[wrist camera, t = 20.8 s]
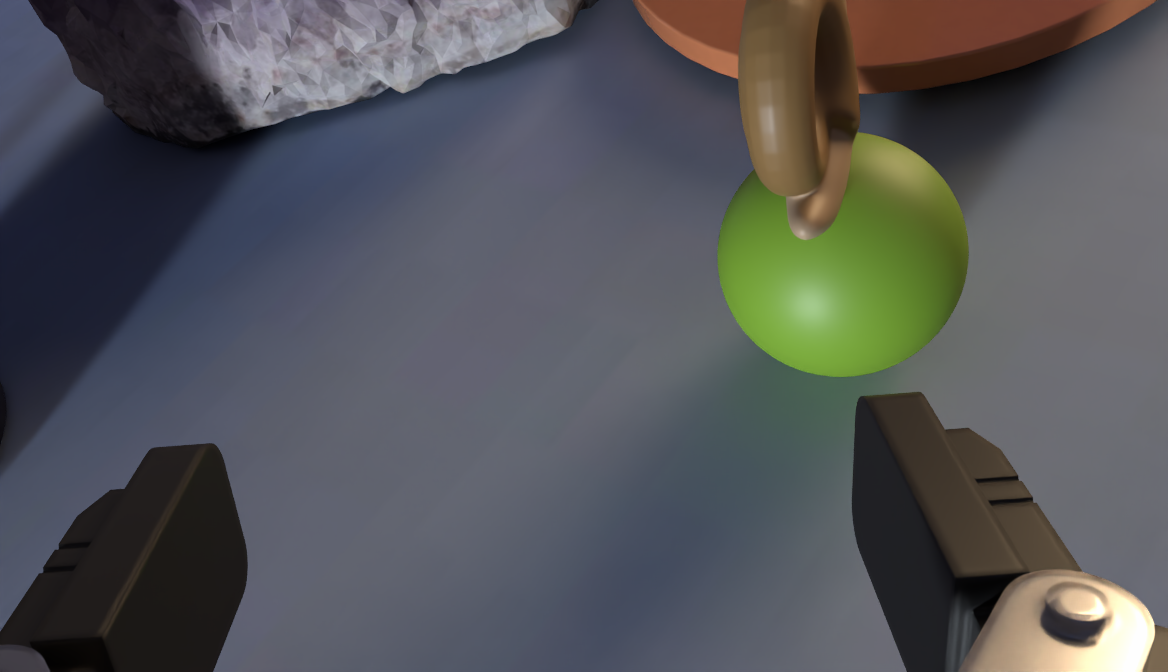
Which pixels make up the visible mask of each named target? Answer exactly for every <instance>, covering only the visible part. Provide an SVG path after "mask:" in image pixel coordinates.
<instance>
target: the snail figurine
mask: <svg viewBox="0 0 1168 672" xmlns="http://www.w3.org/2000/svg"><path fill="white" fill-rule="evenodd" d="M738 86H739V99H740V109H741V116H742V122H743V127H744V132H745V135H746V139H747V144H748V148H749V153H750V157H751V160H752V163H753V166H754V170H753V171H752V172H751V173H750V174H749V175H748V177H747V178H746V179H745V180H744V181H743V183H742V184H741V185H740V187H739V188H738V190H737V191H736V193H735V195H734V196H733V198H732V200H731V202H730V204H729V206H728V208H727V211H726V213H725V216H724V219H723V222H722V226H721V230H720V235H719V242H718V271H719V278H720V283H721V287H722V290H723V293H724V296H725V299H726V302H727V304H728V306H729V308H730V310H731V312H732V314H733V316H734V318H735V319H736V321H737V322H738V324H739V325H740V327H741V328H742V329H743V330H744V332H745V333H746V334H747V335H748V336H749V337H750V339H751V340H752V341H753V342H754V343H755V344H757V345H758V346H759V347H760V348H761V349H762V350H764V351H765V352H766V353H768V354H769V355H771V356H772V357H774V358H775V359H777V360H779V361H781V362H782V363H784V364H786V365H788V366H791V367H793V368H796V369H798V370H801V371H804V372H808V373H812V374H817V375H823V376H832V377H850V376H859V375H865V374H870V373H874V372H878V371H881V370H884V369H887V368H889V367H892V366H894V365H896V364H898V363H900V362H902V361H904V360H906V359H907V358H909V357H911V356H912V355H914V354H915V353H916V352H918V351H919V350H920V349H922V348H923V347H924V346H925V345H926V344H928V343H929V342H930V341H931V340H932V339H933V338H934V337H935V336H936V335H937V333H938V332H939V331H940V330H941V329H942V327H943V326H944V325H945V323H946V322H947V320H948V319H949V317H950V316H951V314H952V313H953V311H954V309H955V307H956V305H957V303H958V300H959V298H960V296H961V293H962V290H963V287H964V283H965V279H966V274H967V268H968V256H969V249H968V236H967V230H966V225H965V221H964V218H963V215H962V212H961V209H960V207H959V204H958V202H957V200H956V198H955V196H954V194H953V193H952V191H951V189H950V188H949V186H948V185H947V183H946V182H945V180H944V179H943V178H942V177H941V176H940V174H939V173H938V172H937V171H936V170H935V169H934V168H933V167H932V166H931V165H930V164H929V163H928V162H927V161H925V160H924V159H923V158H922V157H920V156H919V155H918V154H916V153H915V152H913V151H911V150H910V149H908V148H906V147H904V146H903V145H900V144H898V143H896V142H894V141H891V140H889V139H886V138H883V137H879V136H876V135H871V134H866V133H858V129H859V124H860V105H859V90H858V78H857V69H856V61H855V54H854V47H853V41H852V35H851V30H850V25H849V20H848V16H847V6H846V0H746V4H745V9H744V16H743V22H742V31H741V37H740V44H739V54H738Z"/></svg>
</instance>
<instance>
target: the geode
mask: <svg viewBox="0 0 1168 672" xmlns="http://www.w3.org/2000/svg"><path fill="white" fill-rule="evenodd" d="M28 1H29V2H30V4H31V5H32V7H33V9H34V10H35V12H36V13H37V15H38V17H39V18H40V20H41V21H42V23H43V25H44V26H45V27H47V28H48V29H49V30H51V31H52V32H53V33H55V34H56V35H57V36H58V38H59V39H60V41H61V43H62V44H63V46H64V48H65V50H66V52H67V54H68V56H69V59H70V61H71V64H72V68H73V72H74V75H75V76H76V77H77V78H78V80H79V81H80V82H81V83H82V84H84V85H86V86H88V87H90V88H91V89H93V90H95V91H98V92H99V93H101V94H102V95H103V96H104V105H105V106H106V107H108V108H110V109H111V110H112V111H113V113H114V114H115V115H116V116H117V117H118V118H120V119H121V120H122V121H123V122H124V123H125V124H126V125H127V126H129V127H130V128H131V129H132V130H133V131H135V132H136V133H140V134H143V135H147V136H150V137H152V138H155V139H157V140H160V141H162V142H174V143H176V144H179V145H181V146H184V147H195V148H201V147H203V146H205V145H208V144H210V143H213V142H216V141H219V140H222V139H225V138H228V137H231V136H234V135H237V134H240V133H243V132H246V131H248V130H251V129H255V128H260V127H264V126H269V125H273V124H276V123H279V122H282V121H284V120H287V119H289V118H292V117H296V116H301V115H306V114H310V113H313V112H316V111H320V110H323V109H332V108H336V107H339V106H343V105H346V104H350V103H354V102H359V101H363V100H367V99H371V98H373V97H374V96H376V95H378V94H379V93H381V92H383V91H384V90H386V89H388V88H389V87H392V88H393V89H395V90H396V91H399V92H401V93H405V92H408V91H410V90H413V89H415V88H418V87H420V86H421V85H422V84H423V83H424V82H425V81H426V80H428V79H430V78H432V77H434V76H436V75H438V74H443V73H446V74H456V73H458V72H459V71H460V70H461V69H463V68H465V67H469V66H473V65H477V64H481V63H485V62H488V61H490V60H493V59H496V58H499V57H501V56H504V55H507V54H510V53H512V52H515V51H517V50H518V49H519V48H521V47H522V46H523V45H525V44H528V43H530V42H533V41H535V40H538V39H541V38H545V37H549V36H553V35H556V34H558V33H560V32H562V31H563V30H565V29H567V28H569V27H570V26H572V24H573V22H574V19H575V17H576V15H577V13H578V11H579V10H582V9H588V8H591V7H592V6H593V5H594V4H595V3H596V2H597V1H599V0H28Z"/></svg>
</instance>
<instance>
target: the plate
mask: <svg viewBox="0 0 1168 672" xmlns="http://www.w3.org/2000/svg"><path fill="white" fill-rule="evenodd" d="M1156 1H1157V0H846V6H847V16H848V20H849V25H850V30H851V35H852V41H853V47H854V54H855V61H856V69H857V78H858V90H859V94H879V93H890V92H900V91H910V90H920V89H927V88H932V87H938V86H943V85H949V84H954V83H960V82H965V81H971V80H974V79H978V78H982V77H985V76H989V75H993V74H996V73H1000V72H1004V71H1008V70H1011V69H1015V68H1019V67H1022V66H1024V65H1027V64H1030V63H1032V62H1035V61H1038V60H1041V59H1043V58H1046V57H1049V56H1052V55H1054V54H1057V53H1060V52H1063V51H1065V50H1068V49H1070V48H1072V47H1074V46H1076V45H1078V44H1080V43H1082V42H1085V41H1087V40H1089V39H1091V38H1093V37H1095V36H1097V35H1099V34H1102V33H1104V32H1106V31H1108V30H1110V29H1112V28H1113V27H1115V26H1117V25H1118V24H1120V23H1122V22H1124V21H1125V20H1127V19H1129V18H1130V17H1132V16H1134V15H1135V14H1137V13H1139V12H1140V11H1142V10H1144V9H1145V8H1147V7H1149V6H1150V5H1152V4H1153V3H1154V2H1156ZM633 3H634V5H635V7H636V8H637V10H638V11H639V13H640V14H641V16H642V17H643V19H644V20H645V22H646V24H647V25H648V26H649V27H650V28H651V29H652V30H653V31H654V32H655V33H656V34H657V35H658V36H659V37H660V38H661V39H662V40H663V41H664V42H665V43H667V44H668V45H670V46H671V47H672V48H674V49H675V50H677V51H678V52H680V53H681V54H682V55H684V56H685V57H687V58H688V59H690V60H692V61H694V62H696V63H698V64H701V65H703V66H705V67H707V68H709V69H711V70H713V71H715V72H717V73H720V74H723V75H727V76H730V77H733V78H736V79H738V54H739V44H740V37H741V31H742V22H743V16H744V9H745V4H746V0H633Z"/></svg>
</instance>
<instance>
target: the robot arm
mask: <svg viewBox="0 0 1168 672" xmlns="http://www.w3.org/2000/svg"><path fill="white" fill-rule="evenodd" d="M5 420H6V400H5V394H4V391H3V387H2V384H1V383H0V444H1V440H2V437H3V432H4V427H5ZM852 515H853V524H854V531H855V536H856V541H857V545H858V548H859V551H860V554H861V556H862V559H863V561H864V564H865V567H866V569H867V572H868V574H869V577H870V579H871V582H872V584H873V587H874V589H875V592H876V594H877V597H878V599H879V602H880V605H881V607H882V610H883V612H884V615H885V617H886V620H887V622H888V625H889V627H890V630H891V632H892V635H893V637H894V640H895V643H896V645H897V648H898V650H899V653H900V655H901V658H902V660H903V663H904V665H905V668H906V670H907V672H1168V628H1164V627H1161V626H1157V625H1154V622H1153V620H1152V617H1151V615H1150V614H1149V612H1148V610H1147V609H1146V607H1145V606H1144V605H1143V604H1142V603H1141V602H1140V601H1139V600H1138V599H1137V598H1136V597H1134V596H1133V595H1132V594H1131V593H1129V592H1128V591H1126V590H1125V589H1123V588H1122V587H1120V586H1118V585H1116V584H1114V583H1112V582H1110V581H1108V580H1106V579H1103V578H1100V577H1097V576H1095V575H1091V574H1087V573H1083V572H1082V570H1081V569H1080V567H1079V566H1078V564H1077V563H1076V561H1075V560H1074V558H1073V557H1072V555H1071V554H1070V552H1069V551H1068V549H1067V548H1066V546H1065V545H1064V543H1063V542H1062V540H1061V539H1060V537H1059V536H1058V534H1057V533H1056V531H1055V530H1054V528H1053V527H1052V525H1051V524H1050V522H1049V521H1048V519H1047V518H1046V516H1045V515H1044V513H1043V512H1042V510H1041V509H1040V507H1039V506H1038V504H1037V503H1033V497H1032V496H1031V494H1030V493H1029V491H1028V490H1027V488H1026V487H1025V485H1024V484H1023V482H1022V481H1019V479H1018V475H1017V473H1016V472H1015V470H1014V469H1013V467H1012V466H1011V464H1010V463H1009V461H1008V460H1007V458H1006V457H1005V455H1004V454H1003V452H1002V451H1001V449H999V448H998V447H996V446H995V445H993V444H992V443H990V442H989V441H987V440H986V439H984V438H983V437H981V436H980V435H978V434H977V433H975V432H974V431H972V430H971V429H969V428H961V429H948V430H945V429H944V427H943V426H942V424H941V422H940V421H939V419H938V417H937V416H936V414H935V413H934V411H933V409H932V408H931V406H930V404H929V403H928V401H927V399H926V398H925V396H924V395H923V394H922V393H921V392H912V393H898V394H885V395H872V396H861V397H860V398H859V399H858V402H857V406H856V415H855V438H854V462H853V486H852ZM247 569H248V562H247V550H246V544H245V539H244V536H243V532H242V528H241V524H240V520H239V517H238V513H237V509H236V505H235V501H234V498H233V494H232V490H231V486H230V482H229V479H228V475H227V471H226V467H225V463H224V460H223V457H222V454H221V452H220V450H219V449H218V447H217V446H216V445H214V444H212V443H208V444H195V445H182V446H168V447H155V448H152V449H150V450H149V451H148V453H147V454H146V455H145V457H144V459H143V460H142V462H141V463H140V465H139V467H138V468H137V470H136V471H135V473H134V475H133V476H132V478H131V479H130V481H129V483H128V484H127V486H126V487H125V489H116V490H110V491H109V492H107V493H106V494H105V495H103V496H102V497H101V498H100V499H98V500H97V501H96V502H95V503H93V504H92V505H91V506H89V507H88V508H87V509H86V510H84V511H83V512H82V513H81V514H79V515H78V516H77V517H76V519H75V520H74V522H73V523H72V525H71V526H70V528H69V529H68V531H67V532H66V534H65V535H64V537H63V538H62V540H61V541H60V543H59V550H54V552H53V553H52V555H51V556H50V558H49V559H48V561H47V562H46V564H45V565H44V567H43V573H39V574H38V576H37V577H36V579H35V580H34V582H33V583H32V585H31V586H30V588H29V589H28V591H27V592H26V594H25V595H24V597H23V598H22V600H21V601H20V603H19V604H18V606H17V607H16V609H15V610H14V612H13V613H12V615H11V616H10V618H9V619H8V621H7V622H6V624H5V625H4V627H3V628H2V630H1V631H0V672H213V670H214V668H215V665H216V663H217V660H218V658H219V655H220V653H221V650H222V648H223V645H224V643H225V640H226V637H227V635H228V632H229V630H230V627H231V625H232V622H233V620H234V617H235V615H236V612H237V610H238V607H239V604H240V602H241V599H242V597H243V594H244V591H245V587H246V581H247Z"/></svg>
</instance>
